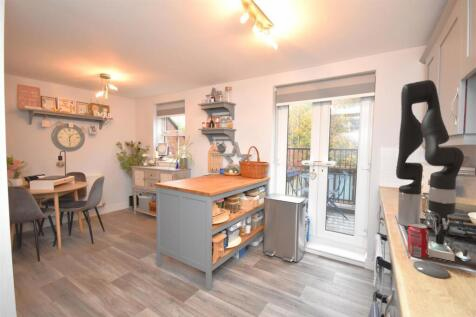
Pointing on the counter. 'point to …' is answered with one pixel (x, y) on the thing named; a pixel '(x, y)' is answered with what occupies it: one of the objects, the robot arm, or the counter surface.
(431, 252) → the base
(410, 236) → the beverage can
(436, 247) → the dome
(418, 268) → the coaster
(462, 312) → the counter surface
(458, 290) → the counter surface
